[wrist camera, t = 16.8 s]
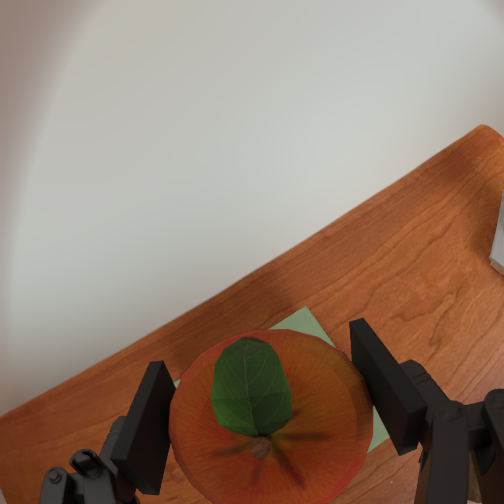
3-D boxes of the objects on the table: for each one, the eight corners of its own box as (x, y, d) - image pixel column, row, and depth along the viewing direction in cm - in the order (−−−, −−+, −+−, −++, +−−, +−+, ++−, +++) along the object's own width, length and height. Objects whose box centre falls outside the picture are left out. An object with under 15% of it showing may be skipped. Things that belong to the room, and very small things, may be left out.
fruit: (209, 493, 13) (132, 553, 5) (195, 357, 18) (109, 308, 10) (363, 474, 13) (425, 531, 4) (340, 335, 18) (381, 265, 9)
